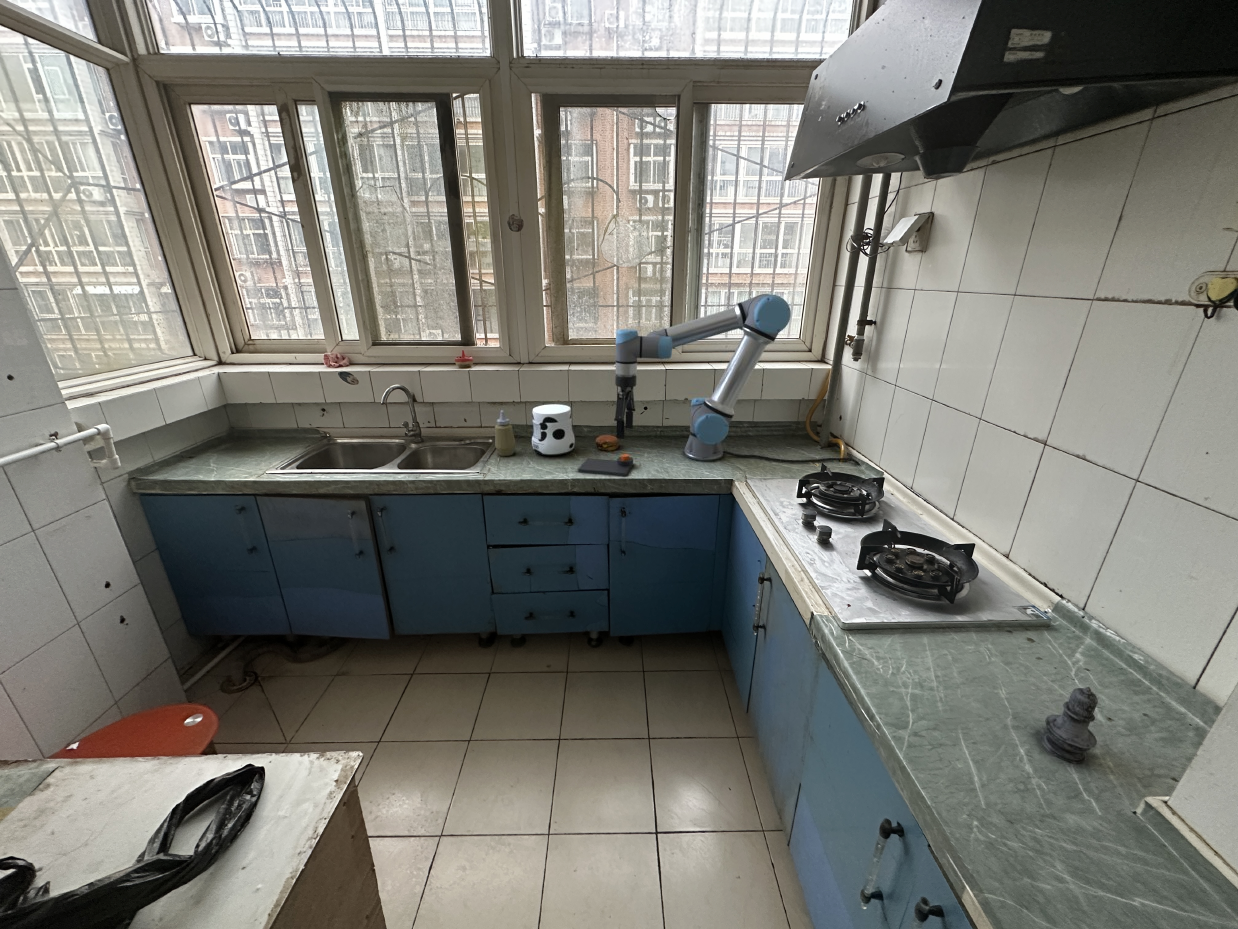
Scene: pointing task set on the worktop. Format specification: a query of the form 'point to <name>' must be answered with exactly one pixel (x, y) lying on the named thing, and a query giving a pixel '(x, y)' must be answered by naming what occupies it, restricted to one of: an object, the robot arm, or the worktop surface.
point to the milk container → (552, 430)
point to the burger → (607, 442)
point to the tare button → (625, 457)
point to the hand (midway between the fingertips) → (624, 433)
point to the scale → (607, 466)
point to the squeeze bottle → (504, 436)
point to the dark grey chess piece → (1072, 727)
